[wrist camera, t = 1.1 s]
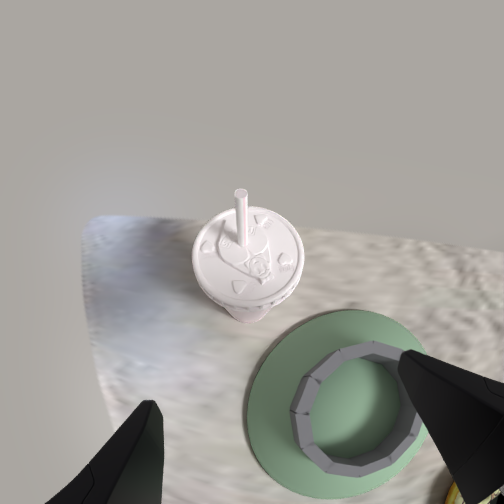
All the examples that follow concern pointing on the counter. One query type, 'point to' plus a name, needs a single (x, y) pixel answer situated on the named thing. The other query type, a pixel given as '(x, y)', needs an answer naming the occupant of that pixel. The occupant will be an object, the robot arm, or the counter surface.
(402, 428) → the putting green cup
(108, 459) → the robot arm
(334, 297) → the counter surface
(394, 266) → the counter surface
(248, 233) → the smoothie
